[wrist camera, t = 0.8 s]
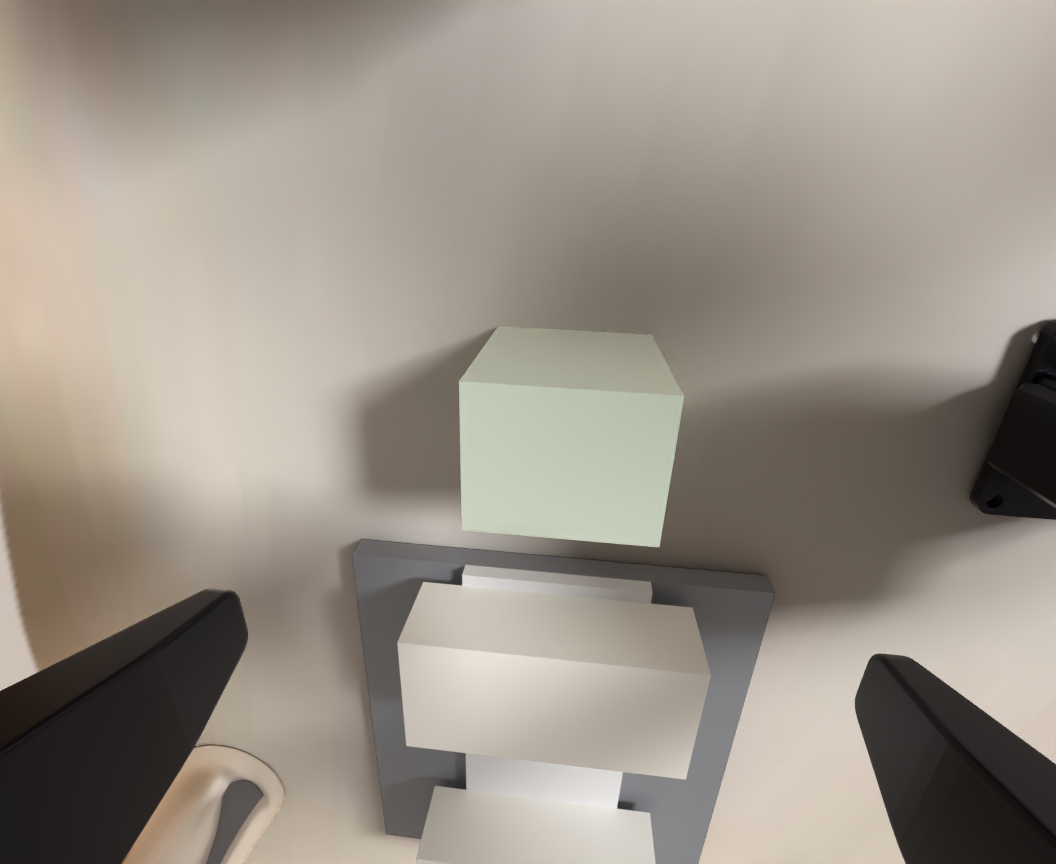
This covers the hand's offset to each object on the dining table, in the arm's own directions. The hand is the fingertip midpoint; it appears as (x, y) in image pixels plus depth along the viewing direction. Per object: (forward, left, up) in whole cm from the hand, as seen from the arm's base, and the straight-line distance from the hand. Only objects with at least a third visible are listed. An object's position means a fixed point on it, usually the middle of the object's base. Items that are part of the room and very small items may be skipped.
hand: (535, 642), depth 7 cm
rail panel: (0, +16, -11) cm, 20 cm away
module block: (0, 0, -11) cm, 11 cm away
